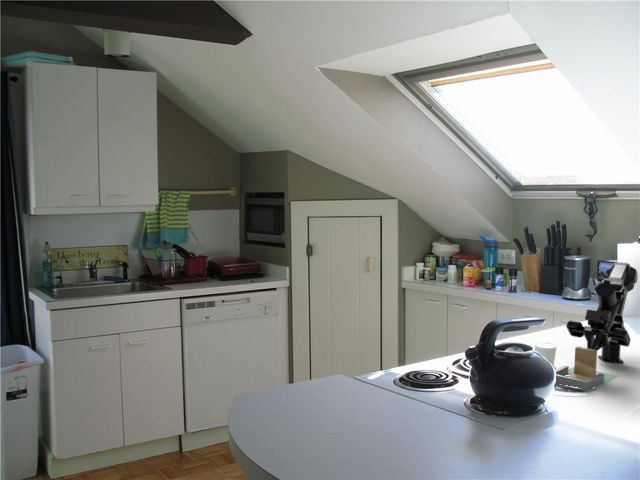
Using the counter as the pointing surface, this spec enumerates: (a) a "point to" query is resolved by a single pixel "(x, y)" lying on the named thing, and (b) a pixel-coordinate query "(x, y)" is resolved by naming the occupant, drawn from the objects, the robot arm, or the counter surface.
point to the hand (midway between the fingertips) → (588, 355)
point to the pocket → (577, 382)
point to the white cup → (546, 351)
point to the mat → (607, 376)
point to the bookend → (584, 363)
